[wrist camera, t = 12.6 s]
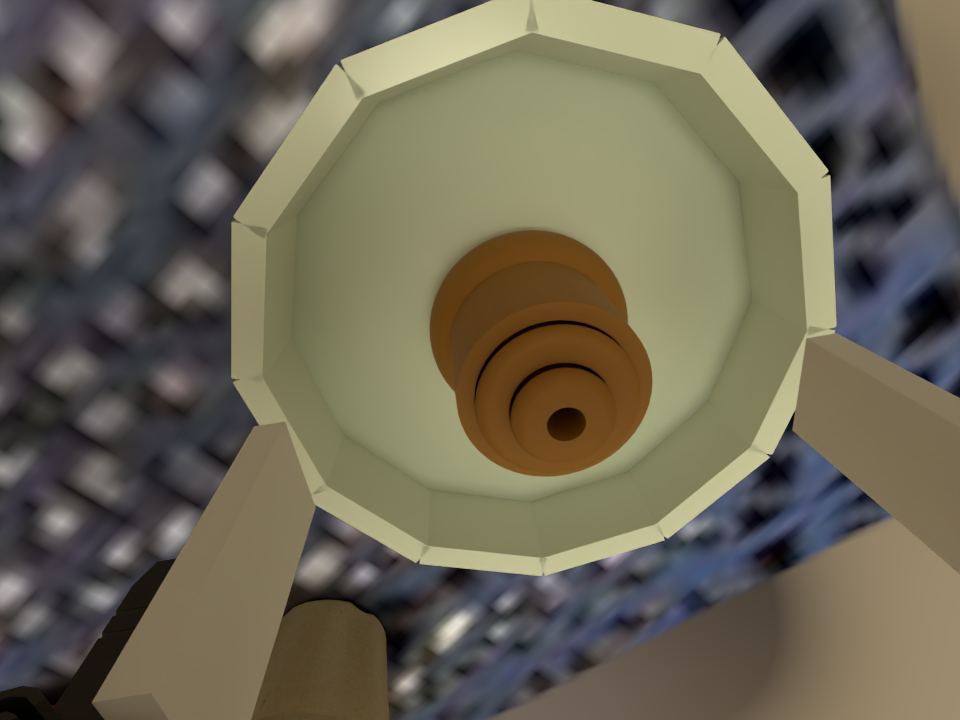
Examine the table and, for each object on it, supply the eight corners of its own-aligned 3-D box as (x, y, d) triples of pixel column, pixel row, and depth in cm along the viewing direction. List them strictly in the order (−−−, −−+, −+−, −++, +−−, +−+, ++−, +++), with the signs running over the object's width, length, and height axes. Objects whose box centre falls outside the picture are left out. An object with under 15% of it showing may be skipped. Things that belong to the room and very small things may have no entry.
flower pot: (357, 548, 26) (319, 726, 19) (446, 652, 30) (445, 838, 22) (209, 615, 28) (115, 808, 20) (311, 707, 32) (266, 900, 24)
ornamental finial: (544, 181, 18) (650, 329, 21) (391, 308, 20) (506, 431, 23) (608, 217, 11) (756, 436, 14) (360, 411, 13) (535, 574, 16)
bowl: (179, 338, 21) (116, 390, 17) (505, -130, 16) (526, -220, 12) (529, 560, 27) (544, 636, 23) (850, 283, 22) (943, 319, 18)
